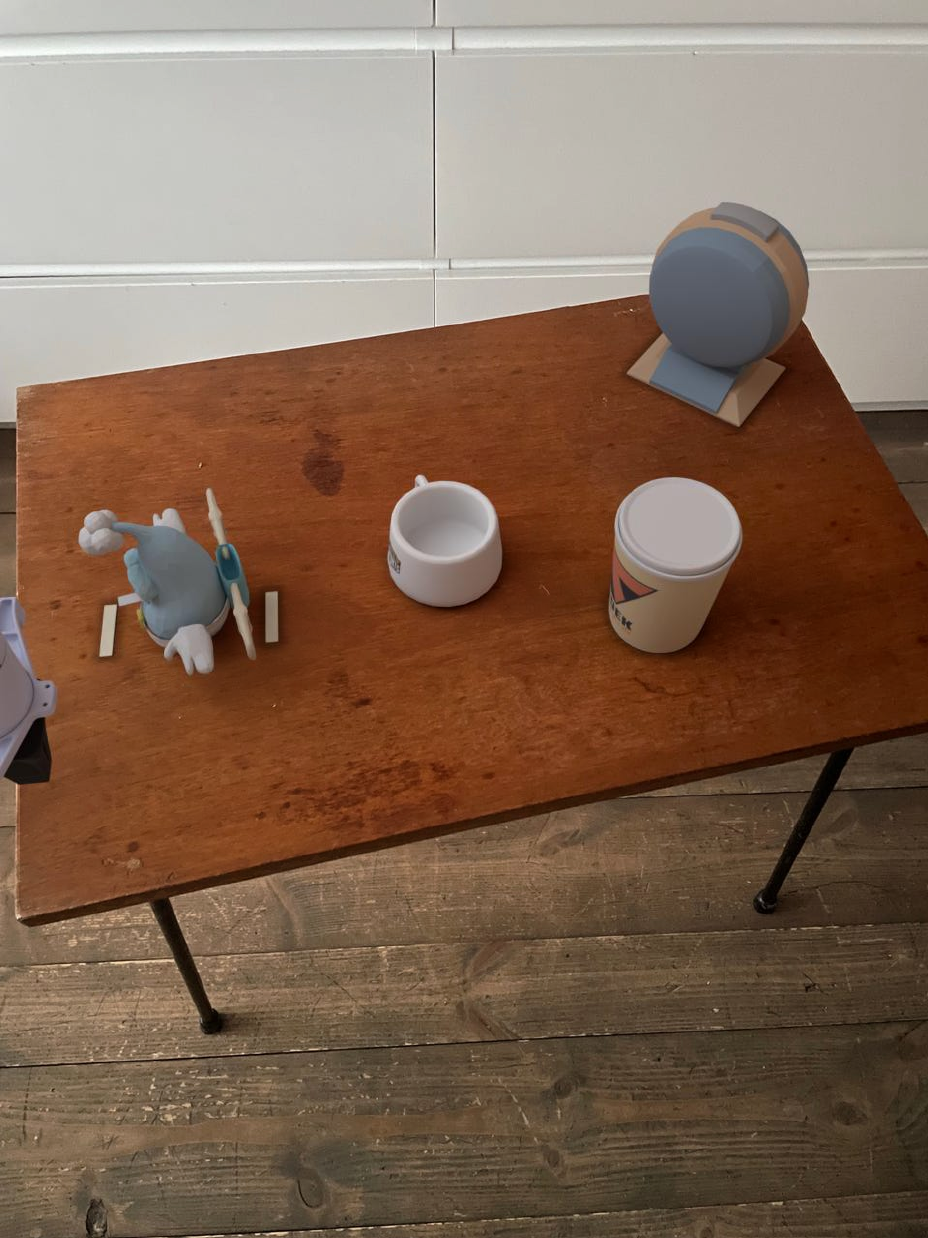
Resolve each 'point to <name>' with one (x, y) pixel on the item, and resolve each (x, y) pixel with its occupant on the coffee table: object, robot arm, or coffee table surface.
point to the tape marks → (110, 620)
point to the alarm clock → (723, 309)
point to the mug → (444, 543)
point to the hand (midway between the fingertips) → (34, 773)
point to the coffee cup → (670, 561)
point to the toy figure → (177, 582)
